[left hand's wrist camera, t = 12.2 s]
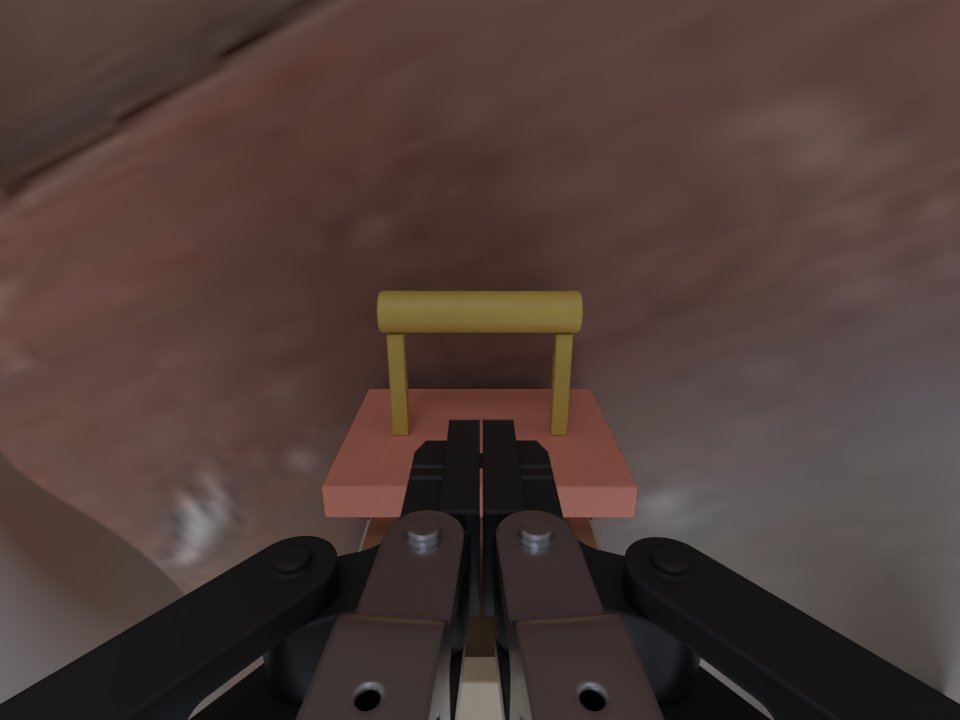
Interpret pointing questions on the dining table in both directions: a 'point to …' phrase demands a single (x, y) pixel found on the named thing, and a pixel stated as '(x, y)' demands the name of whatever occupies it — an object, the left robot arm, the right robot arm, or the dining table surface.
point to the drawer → (426, 413)
